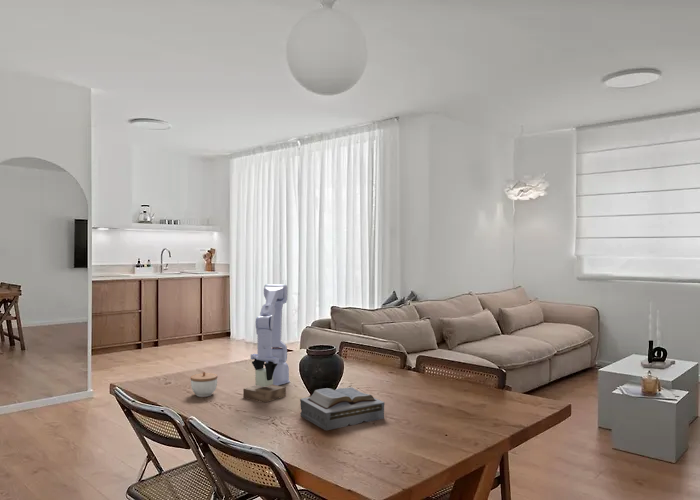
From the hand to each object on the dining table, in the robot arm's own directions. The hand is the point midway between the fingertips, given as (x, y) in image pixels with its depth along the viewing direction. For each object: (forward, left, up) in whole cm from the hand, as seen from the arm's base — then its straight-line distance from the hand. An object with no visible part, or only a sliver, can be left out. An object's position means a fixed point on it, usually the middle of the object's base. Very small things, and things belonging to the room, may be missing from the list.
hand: (264, 378), depth 225 cm
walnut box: (0, 0, -8) cm, 8 cm away
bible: (+2, +41, -8) cm, 42 cm away
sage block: (0, 0, -2) cm, 2 cm away
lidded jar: (+13, -22, -7) cm, 27 cm away
